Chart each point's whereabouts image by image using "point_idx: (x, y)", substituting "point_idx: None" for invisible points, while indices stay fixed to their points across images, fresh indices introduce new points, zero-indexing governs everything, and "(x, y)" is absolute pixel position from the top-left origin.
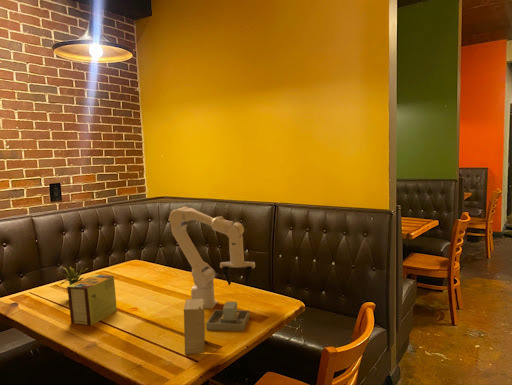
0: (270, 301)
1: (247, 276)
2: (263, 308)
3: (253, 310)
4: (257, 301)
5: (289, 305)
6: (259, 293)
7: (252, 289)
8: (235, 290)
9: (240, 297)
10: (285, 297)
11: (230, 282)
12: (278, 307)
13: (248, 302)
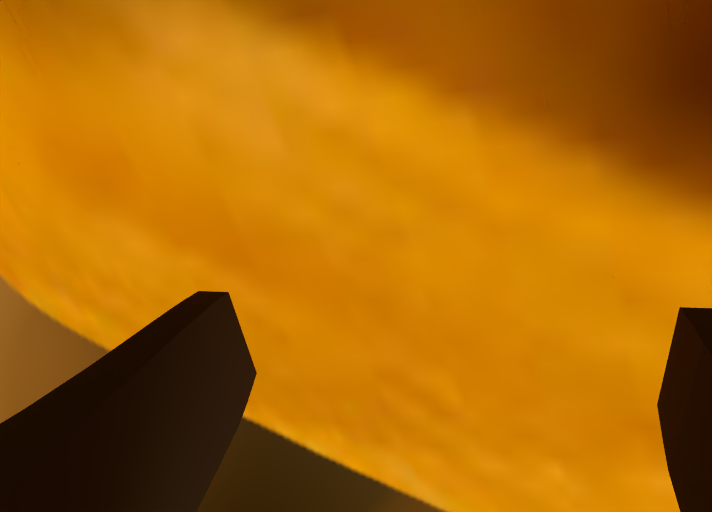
0: None
1: (3, 450)
2: (202, 141)
3: (284, 73)
4: (328, 294)
5: (26, 225)
6: (369, 436)
7: (455, 502)
8: (617, 505)
9: (533, 377)
10: None
11: (673, 402)
12: (83, 178)
13: (412, 272)
